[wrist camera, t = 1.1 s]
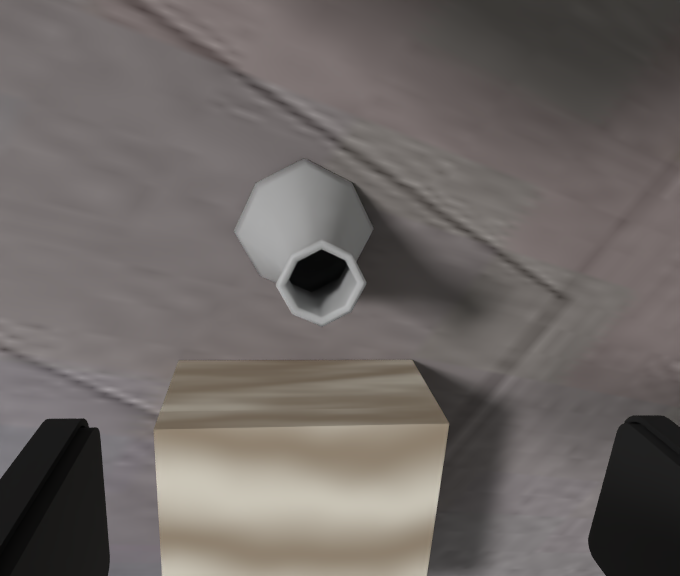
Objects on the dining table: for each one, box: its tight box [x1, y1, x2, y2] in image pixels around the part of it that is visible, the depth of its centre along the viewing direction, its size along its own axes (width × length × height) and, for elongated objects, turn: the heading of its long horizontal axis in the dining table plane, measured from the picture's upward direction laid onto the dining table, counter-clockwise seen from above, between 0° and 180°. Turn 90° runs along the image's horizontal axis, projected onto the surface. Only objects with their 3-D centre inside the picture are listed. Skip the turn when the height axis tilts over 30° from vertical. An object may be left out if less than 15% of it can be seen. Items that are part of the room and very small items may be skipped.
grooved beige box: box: [154, 360, 449, 576], centre depth 30 cm, size 14×14×7 cm
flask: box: [234, 158, 374, 326], centre depth 24 cm, size 7×7×10 cm
